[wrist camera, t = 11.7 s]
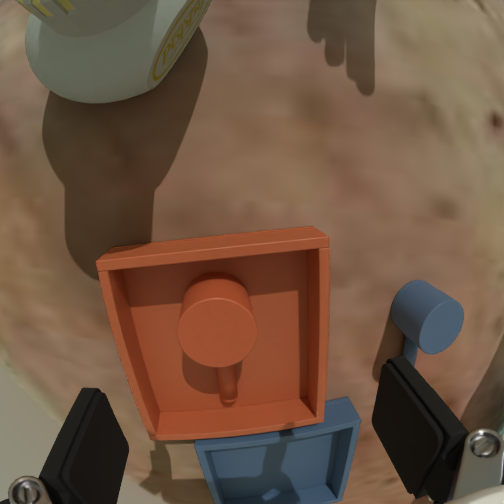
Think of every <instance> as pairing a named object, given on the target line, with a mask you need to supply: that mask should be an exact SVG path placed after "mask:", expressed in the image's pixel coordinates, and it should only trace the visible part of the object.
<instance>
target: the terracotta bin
mask: <svg viewBox="0 0 504 504" xmlns="http://www.w3.org/2000/svg"><path fill="white" fill-rule="evenodd" d="M96 266H97V270H98V271H99V272H98V275H99V280H100V284H101V289H102V293H103V297H104V301H105V305H106V309H107V313H108V317H109V321H110V324H111V328H112V332H113V335H114V339H115V342H116V345H117V349H118V352H119V355H120V358H121V361H122V365H123V368H124V371H125V374H126V377H127V380H128V382H129V385H130V388H131V391H132V394H133V396H134V399H135V402H136V405H137V407H138V410H139V412H140V415H141V417H142V420H143V422H144V425H145V427H146V430H147V432H148V434H149V437H150V440H190V439H207V438H220V437H231V436H241V435H249V434H257V433H264V432H271V431H278V430H284V429H290V428H295V427H301V426H306V425H311V424H316V423H321V422H324V409H325V396H326V380H327V362H328V339H329V296H330V255H329V236H327V235H326V234H324V233H322V232H321V231H319V230H318V229H316V228H314V227H313V226H309V227H299V228H288V229H277V230H267V231H257V232H247V233H237V234H227V235H217V236H208V237H198V238H189V239H180V240H171V241H162V242H153V243H144V244H136V245H127V246H119V247H112V248H111V249H110V250H109V251H107V252H106V253H105V254H104V255H103V256H101V257H100V258H99V259H98V260H97V261H96ZM209 272H223V273H227V274H230V275H232V276H234V277H236V278H237V279H238V280H240V281H241V282H242V283H243V285H244V286H245V288H246V289H247V291H248V294H249V298H250V302H251V305H252V309H253V313H254V316H255V320H256V324H257V329H258V336H257V341H256V344H255V346H254V348H253V349H252V351H251V352H250V354H249V355H248V356H247V357H246V358H244V359H243V360H242V361H240V362H238V363H236V364H234V367H235V375H236V382H237V389H238V398H237V400H236V401H235V402H233V403H226V402H224V401H223V400H222V398H221V394H220V389H219V383H218V378H217V372H216V367H208V366H204V365H201V364H199V363H197V362H195V361H193V360H192V359H191V358H189V357H188V356H187V355H186V354H185V352H184V351H183V350H182V348H181V346H180V344H179V342H178V338H177V326H178V321H179V316H180V311H181V307H182V302H183V298H184V294H185V291H186V289H187V287H188V286H189V284H190V283H191V282H192V281H193V280H194V279H195V278H197V277H199V276H200V275H203V274H205V273H209Z"/></svg>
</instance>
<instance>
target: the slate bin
mask: <svg viewBox="0 0 504 504" xmlns="http://www.w3.org/2000/svg"><path fill="white" fill-rule="evenodd" d="M360 423H361V419H360V417H359V415H358V413H357V412H356V410H355V408H354V406H353V405H352V403H351V401H350V399H349V398H348V397H344V398H339V399H335V400H330V401H326V402H325V409H324V422H321V423H316V424H311V425H306V426H301V427H295V428H290V429H284V430H278V431H271V432H264V433H257V434H249V435H241V436H231V437H220V438H207V439H195V446H194V447H195V450H196V453H197V456H198V459H199V462H200V465H201V467H202V470H203V473H204V476H205V479H206V482H207V484H208V487H209V490H210V493H211V495H212V498H213V501H214V503H215V504H331V503H335V502H338V501H342V499H343V495H344V491H345V488H346V484H347V480H348V476H349V472H350V468H351V464H352V460H353V456H354V451H355V447H356V442H357V438H358V433H359V428H360Z"/></svg>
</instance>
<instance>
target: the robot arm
mask: <svg viewBox="0 0 504 504" xmlns="http://www.w3.org/2000/svg"><path fill="white" fill-rule="evenodd" d="M372 425H373V427H374V429H375V431H376V433H377V435H378V437H379V439H380V441H381V442H382V444H383V446H384V448H385V450H386V452H387V454H388V456H389V457H390V459H391V461H392V463H393V465H394V467H395V469H396V471H397V473H398V475H399V476H400V478H401V480H402V482H403V484H404V486H405V488H406V490H407V492H408V493H409V494H412V493H413V494H414V496H415V498H416V499H418V498H421V497H423V496H425V495H427V494H428V495H429V497H430V499H431V503H430V504H504V441H503V439H502V437H501V436H500V435H499V434H498V433H497V432H496V431H494V430H491V429H487V428H481V429H477V430H474V431H473V432H471V433H469V432H468V431H467V429H466V428H465V427H464V426H463V424H462V423H461V422H460V421H459V420H458V418H457V417H456V416H455V415H454V413H453V412H452V411H451V410H450V409H449V407H448V406H447V405H446V404H445V402H444V401H443V400H442V399H441V398H440V396H439V395H438V394H437V393H436V392H435V390H434V389H433V388H432V387H431V386H430V385H429V384H428V383H427V382H426V381H425V379H424V378H423V377H422V376H421V375H420V374H419V372H418V371H417V370H416V369H415V368H414V367H413V365H412V364H411V363H410V362H409V361H408V360H407V358H406V357H404V356H399V357H395V358H391V359H388V360H387V361H386V364H384V365H383V366H382V369H381V375H380V380H379V386H378V391H377V396H376V401H375V406H374V410H373V415H372ZM128 453H129V445H128V442H127V440H126V438H125V436H124V434H123V432H122V430H121V428H120V426H119V424H118V422H117V419H116V417H115V415H114V413H113V410H112V408H111V406H110V404H109V401H108V399H107V396H106V394H105V393H102V392H101V390H100V389H98V388H82V389H81V391H80V393H79V395H78V397H77V399H76V401H75V402H74V404H73V406H72V408H71V410H70V412H69V414H68V416H67V418H66V420H65V422H64V424H63V426H62V428H61V430H60V432H59V434H58V436H57V438H56V441H55V443H54V445H53V447H52V449H51V451H50V453H49V456H48V457H47V460H46V462H45V464H44V466H43V469H42V471H41V473H40V475H39V478H36V477H33V476H22V477H20V478H18V479H16V480H15V481H14V482H13V483H12V484H11V486H10V487H9V491H8V497H9V498H8V499H6V500H3V501H1V502H0V504H117V499H118V495H119V491H120V486H121V482H122V478H123V474H124V470H125V465H126V461H127V457H128Z"/></svg>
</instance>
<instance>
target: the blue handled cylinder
mask: <svg viewBox="0 0 504 504" xmlns="http://www.w3.org/2000/svg"><path fill="white" fill-rule="evenodd" d="M391 317H392V320H393V323H394V324H395V325H396V326H397V327H398V328H399V329H400V330H401V331H402V332H403V333H404V334H405V341H404V347H403V353H402V356H404V357H406V358H407V360H408V361H409V362H410V363H411V364H412V365H413V367H414V365H415V360H416V355H417V350H418V347H419V348H420V349H421V350H422V351H423V352H425V353H427V354H437V353H439V352H442V351H443V350H445V349H446V348H447V347H449V346H450V345H451V344H452V343H453V342H454V340H455V339H456V337H457V336H458V334H459V332H460V330H461V328H462V325H463V320H464V311H463V308H462V306H461V304H460V303H459V302H458V301H456V300H455V299H453V298H451V297H450V296H448V295H447V294H445V293H443V292H442V291H440V290H438V289H437V288H435V287H434V286H432V285H430V284H429V283H427V282H425V281H422V280H415V281H412V282H410V283H408V284H406V285H405V286H404V287H403V288H402V289H401V290H400V291H399V292H398V293H397V295H396V297H395V299H394V301H393V303H392V308H391Z"/></svg>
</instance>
